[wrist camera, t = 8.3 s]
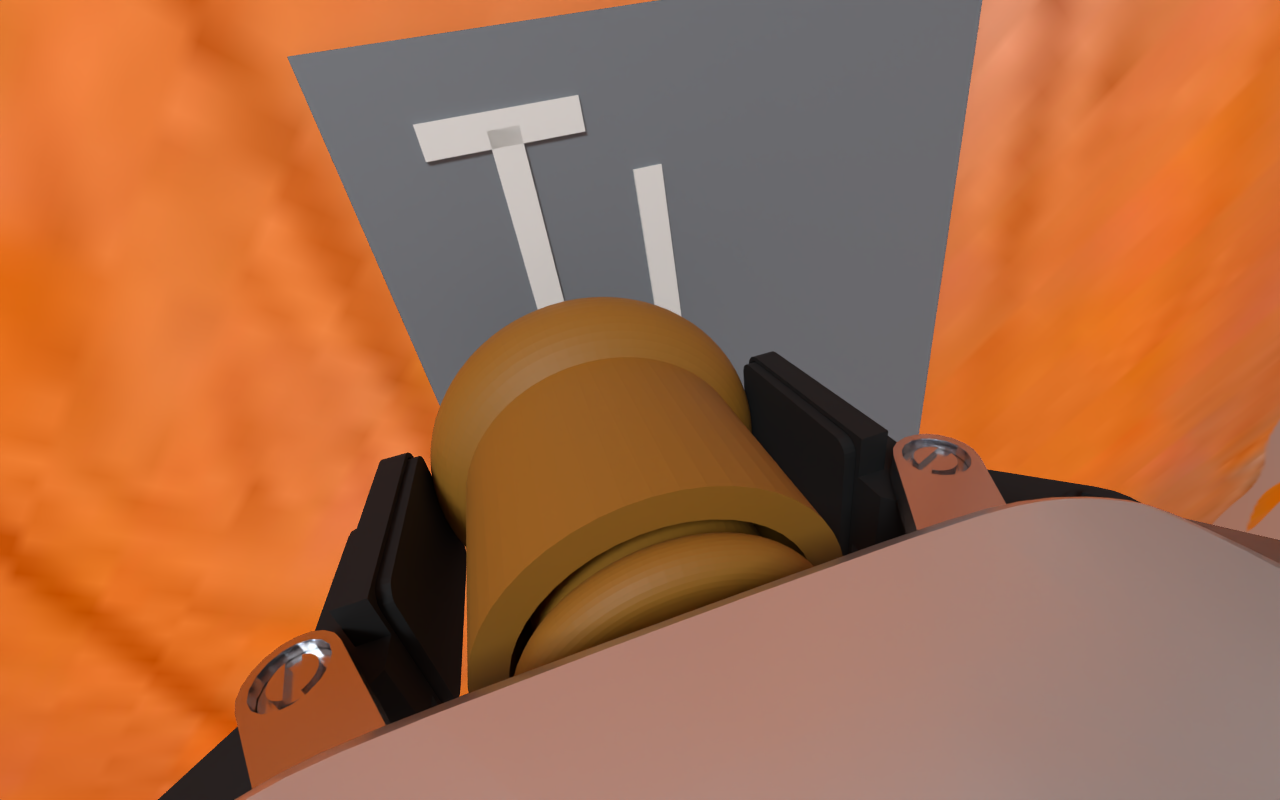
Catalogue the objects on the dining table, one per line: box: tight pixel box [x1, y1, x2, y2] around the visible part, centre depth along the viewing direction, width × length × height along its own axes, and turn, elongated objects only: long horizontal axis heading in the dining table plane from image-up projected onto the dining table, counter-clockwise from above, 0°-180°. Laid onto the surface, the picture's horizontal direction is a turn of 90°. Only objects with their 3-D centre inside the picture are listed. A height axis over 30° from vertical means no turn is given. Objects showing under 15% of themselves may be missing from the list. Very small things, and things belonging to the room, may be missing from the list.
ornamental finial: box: [431, 297, 843, 693], centre depth 9 cm, size 8×8×8 cm
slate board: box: [288, 0, 982, 442], centre depth 18 cm, size 18×24×1 cm
